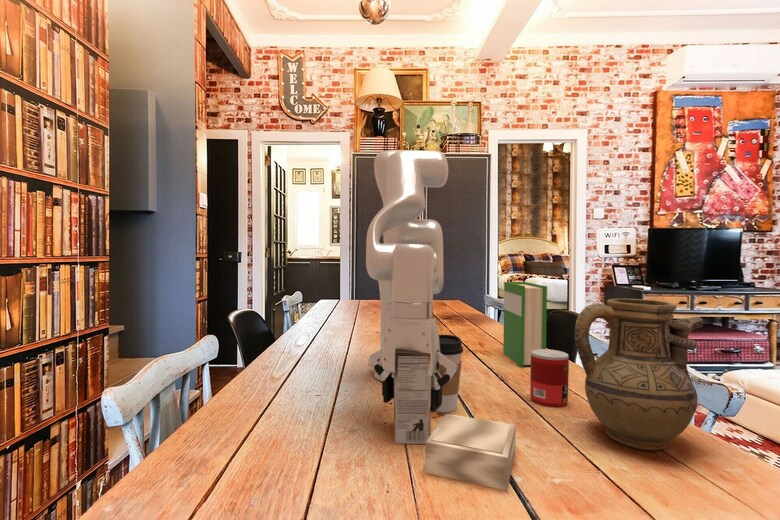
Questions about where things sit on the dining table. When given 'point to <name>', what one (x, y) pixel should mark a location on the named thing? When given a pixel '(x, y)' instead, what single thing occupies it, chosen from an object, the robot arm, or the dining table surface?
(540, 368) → the canned food
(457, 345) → the coffee cup
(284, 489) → the dining table surface
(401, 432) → the coffee box
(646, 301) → the decorative pitcher
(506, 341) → the hardback book
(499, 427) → the beige square tray
